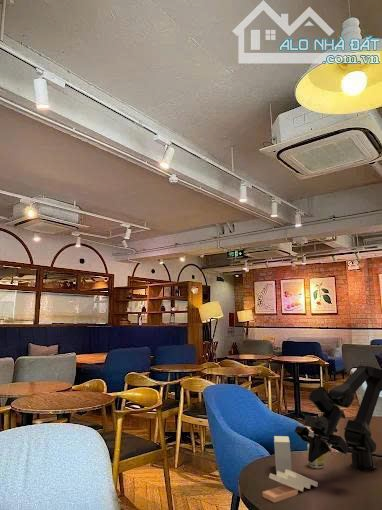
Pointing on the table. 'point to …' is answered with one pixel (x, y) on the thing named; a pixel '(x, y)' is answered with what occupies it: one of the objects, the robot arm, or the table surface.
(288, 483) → the domino
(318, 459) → the supplement bottle
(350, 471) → the table surface
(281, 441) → the small box
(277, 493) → the domino
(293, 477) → the domino
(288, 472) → the domino
